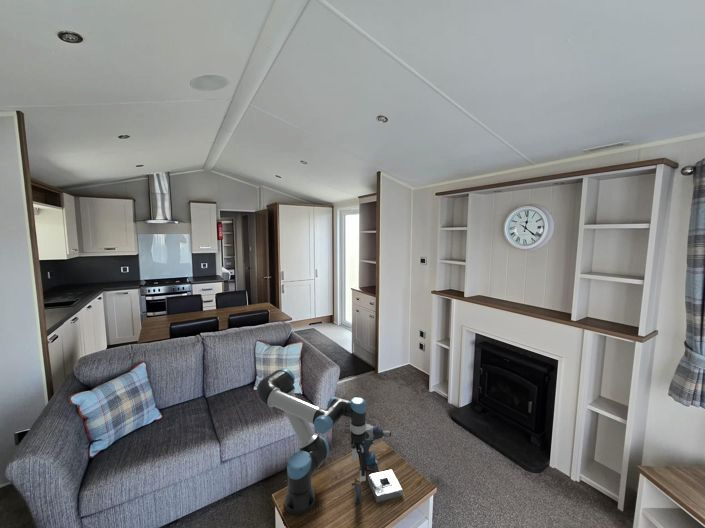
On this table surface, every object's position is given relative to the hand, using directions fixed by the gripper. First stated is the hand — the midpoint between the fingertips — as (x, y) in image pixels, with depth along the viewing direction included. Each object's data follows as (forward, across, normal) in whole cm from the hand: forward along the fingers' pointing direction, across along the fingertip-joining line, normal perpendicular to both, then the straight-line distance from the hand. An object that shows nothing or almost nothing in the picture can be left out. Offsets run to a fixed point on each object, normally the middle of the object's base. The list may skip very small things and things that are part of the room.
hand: (358, 470), depth 155 cm
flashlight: (+17, 0, 0) cm, 17 cm away
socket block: (+18, +4, -16) cm, 24 cm away
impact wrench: (+18, +20, -14) cm, 30 cm away
